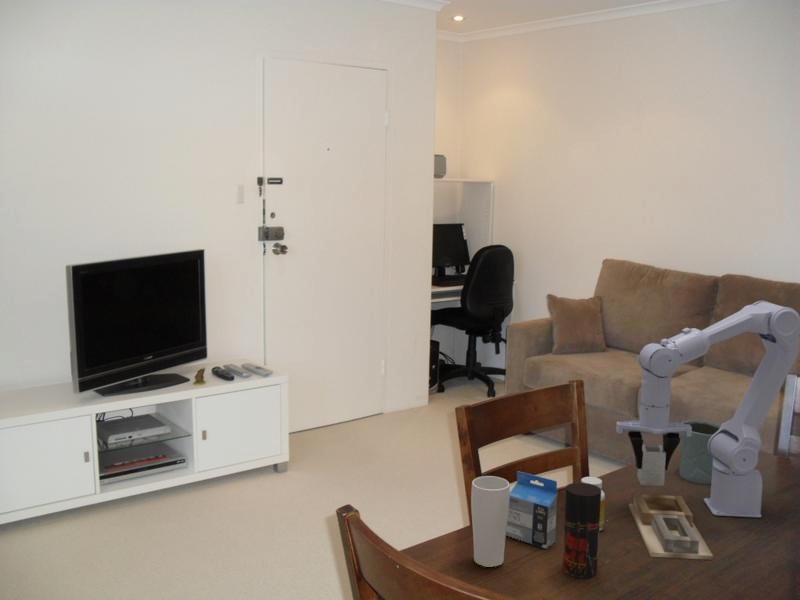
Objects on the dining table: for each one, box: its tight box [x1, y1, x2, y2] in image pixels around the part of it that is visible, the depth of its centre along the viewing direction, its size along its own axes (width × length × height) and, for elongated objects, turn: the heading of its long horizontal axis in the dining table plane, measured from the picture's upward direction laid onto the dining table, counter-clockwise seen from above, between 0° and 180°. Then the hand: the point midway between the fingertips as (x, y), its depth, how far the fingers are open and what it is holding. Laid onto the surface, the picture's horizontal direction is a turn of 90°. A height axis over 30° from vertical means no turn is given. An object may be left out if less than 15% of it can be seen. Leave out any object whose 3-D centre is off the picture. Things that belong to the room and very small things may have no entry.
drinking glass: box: [470, 475, 511, 568], centre depth 144 cm, size 7×7×15 cm
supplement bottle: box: [580, 476, 606, 532], centre depth 159 cm, size 5×5×10 cm
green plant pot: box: [679, 420, 722, 485], centre depth 185 cm, size 10×10×12 cm
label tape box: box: [506, 470, 558, 549], centre depth 153 cm, size 9×4×12 cm, turn 53°
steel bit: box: [636, 443, 666, 487], centre depth 165 cm, size 4×4×8 cm
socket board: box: [628, 493, 714, 561], centre depth 157 cm, size 11×22×3 cm, turn 174°
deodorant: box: [562, 482, 602, 579], centre depth 141 cm, size 6×6×15 cm
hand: (651, 467), depth 165 cm, fingers closed on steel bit, 4 cm apart
